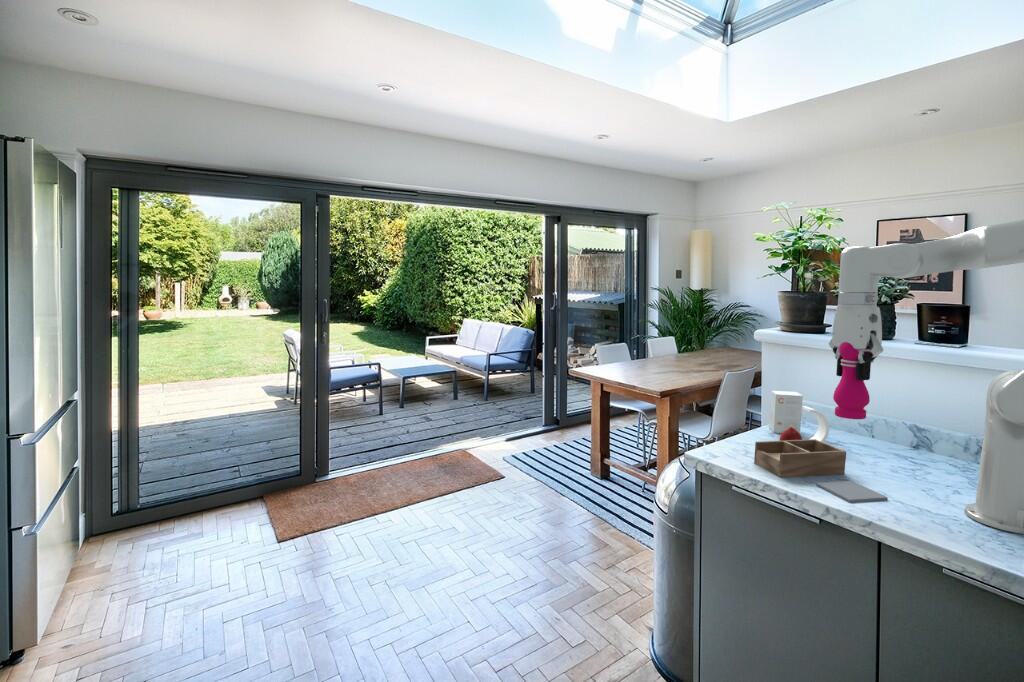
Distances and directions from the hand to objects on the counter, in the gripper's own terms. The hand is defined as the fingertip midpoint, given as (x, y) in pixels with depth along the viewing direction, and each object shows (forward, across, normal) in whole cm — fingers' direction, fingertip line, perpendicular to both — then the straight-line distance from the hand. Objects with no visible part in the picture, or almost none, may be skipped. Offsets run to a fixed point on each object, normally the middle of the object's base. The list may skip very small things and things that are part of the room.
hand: (852, 377), depth 122 cm
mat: (+27, -3, +1) cm, 27 cm away
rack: (+27, +13, +3) cm, 30 cm away
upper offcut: (+25, +13, +8) cm, 29 cm away
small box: (+27, +46, -17) cm, 56 cm away
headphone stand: (+27, +30, -15) cm, 43 cm away
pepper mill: (+10, 0, 0) cm, 10 cm away
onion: (+27, +25, -4) cm, 37 cm away
